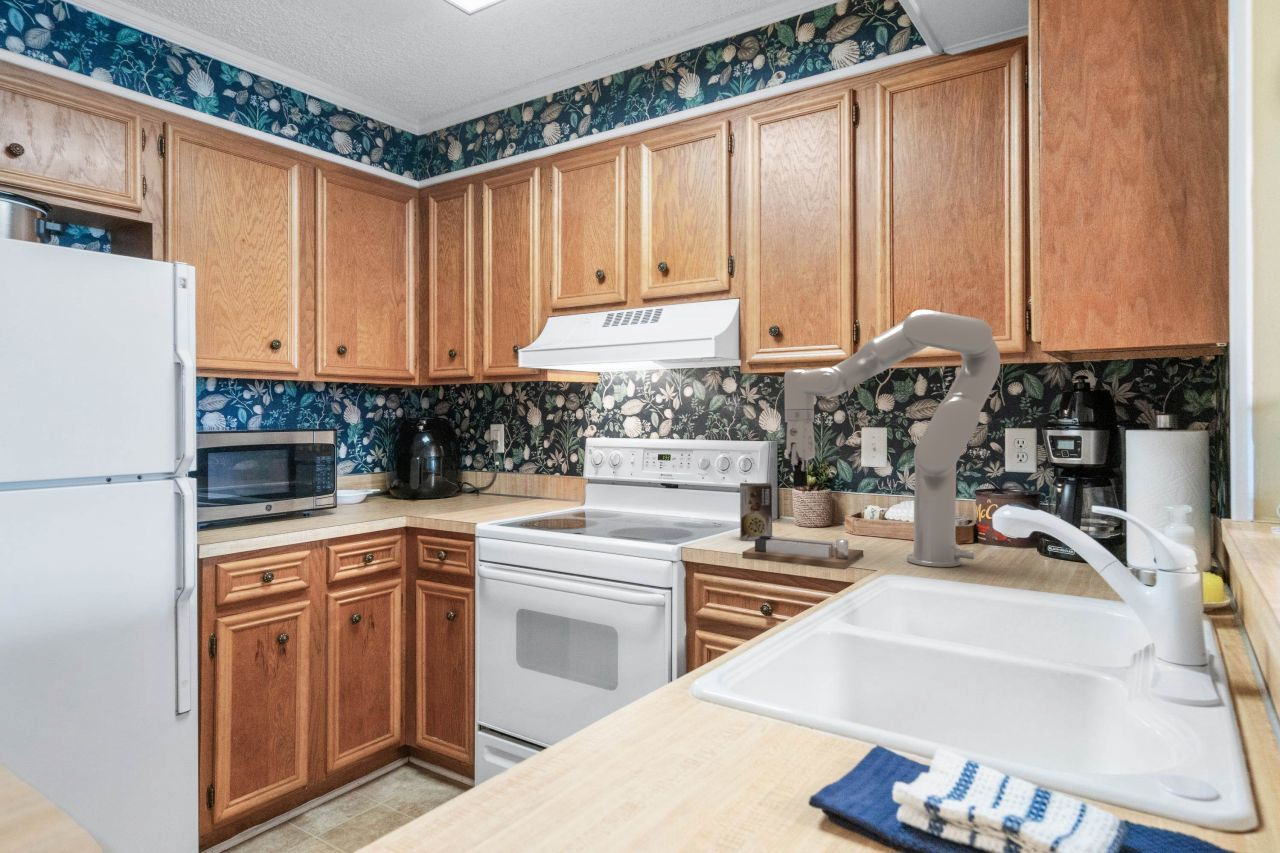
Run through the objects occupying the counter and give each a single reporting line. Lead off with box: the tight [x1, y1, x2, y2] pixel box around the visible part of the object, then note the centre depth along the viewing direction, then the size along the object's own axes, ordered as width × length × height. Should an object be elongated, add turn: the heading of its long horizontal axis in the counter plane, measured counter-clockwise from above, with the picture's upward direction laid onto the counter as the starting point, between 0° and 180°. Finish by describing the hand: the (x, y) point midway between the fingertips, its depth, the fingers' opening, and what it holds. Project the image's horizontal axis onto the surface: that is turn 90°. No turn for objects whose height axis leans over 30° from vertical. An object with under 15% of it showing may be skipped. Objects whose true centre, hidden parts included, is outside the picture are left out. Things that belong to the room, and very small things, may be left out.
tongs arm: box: [759, 535, 836, 556], centre depth 190 cm, size 19×2×3 cm, turn 60°
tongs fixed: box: [754, 538, 849, 560], centre depth 187 cm, size 23×4×4 cm, turn 60°
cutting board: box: [741, 546, 864, 570], centre depth 191 cm, size 26×18×2 cm
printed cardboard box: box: [739, 482, 773, 542], centre depth 217 cm, size 9×6×16 cm
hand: (800, 486), depth 196 cm, fingers closed
